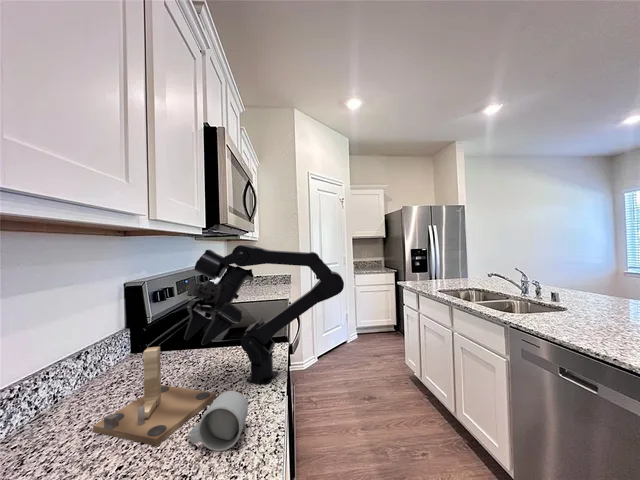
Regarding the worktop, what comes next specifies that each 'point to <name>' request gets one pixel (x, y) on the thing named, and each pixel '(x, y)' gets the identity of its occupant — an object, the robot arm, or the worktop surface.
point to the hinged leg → (152, 379)
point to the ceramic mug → (221, 422)
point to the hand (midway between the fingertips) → (193, 341)
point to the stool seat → (155, 416)
